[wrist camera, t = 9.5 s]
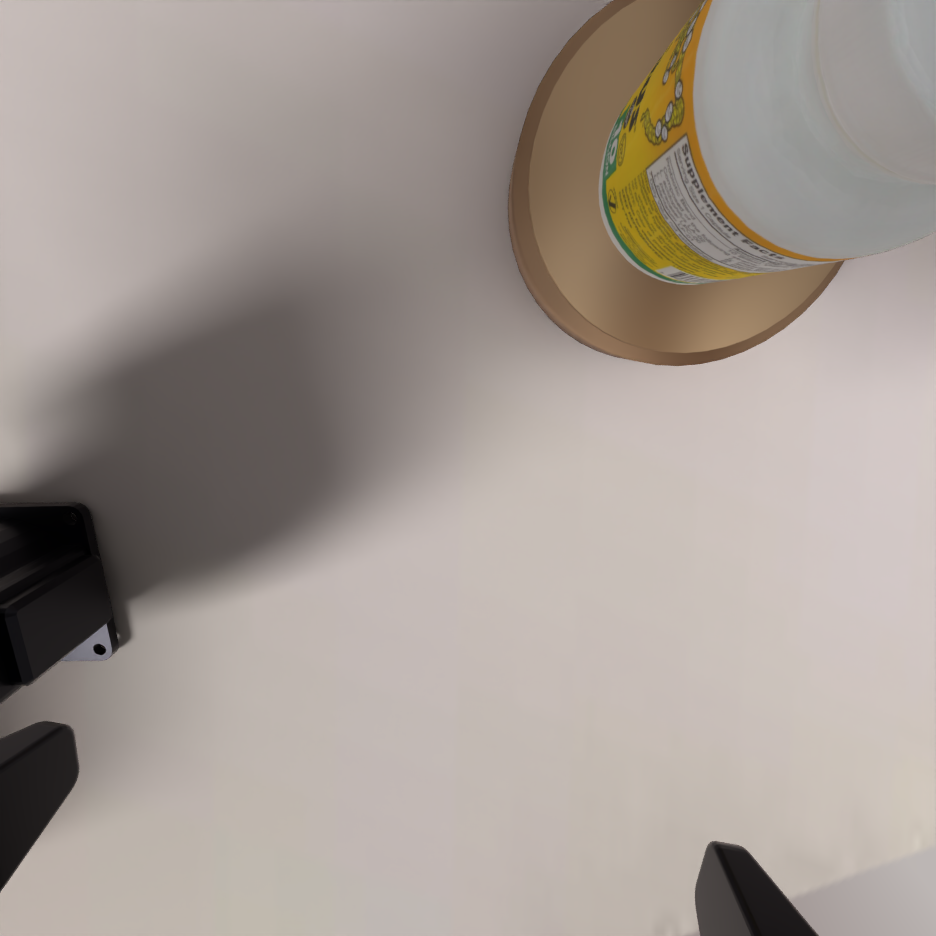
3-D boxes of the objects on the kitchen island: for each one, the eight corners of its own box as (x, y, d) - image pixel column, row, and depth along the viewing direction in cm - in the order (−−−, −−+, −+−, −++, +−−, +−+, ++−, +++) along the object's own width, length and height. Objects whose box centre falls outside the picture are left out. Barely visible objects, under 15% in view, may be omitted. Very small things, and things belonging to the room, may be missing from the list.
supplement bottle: (669, 325, 15) (970, 333, 6) (553, 171, 14) (709, -99, 5) (830, 190, 14) (1470, -39, 5) (719, 14, 13) (1278, -663, 4)
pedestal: (508, 363, 19) (514, 370, 16) (507, 29, 16) (514, -37, 13) (794, 357, 19) (854, 363, 16) (839, 18, 16) (920, -49, 13)
